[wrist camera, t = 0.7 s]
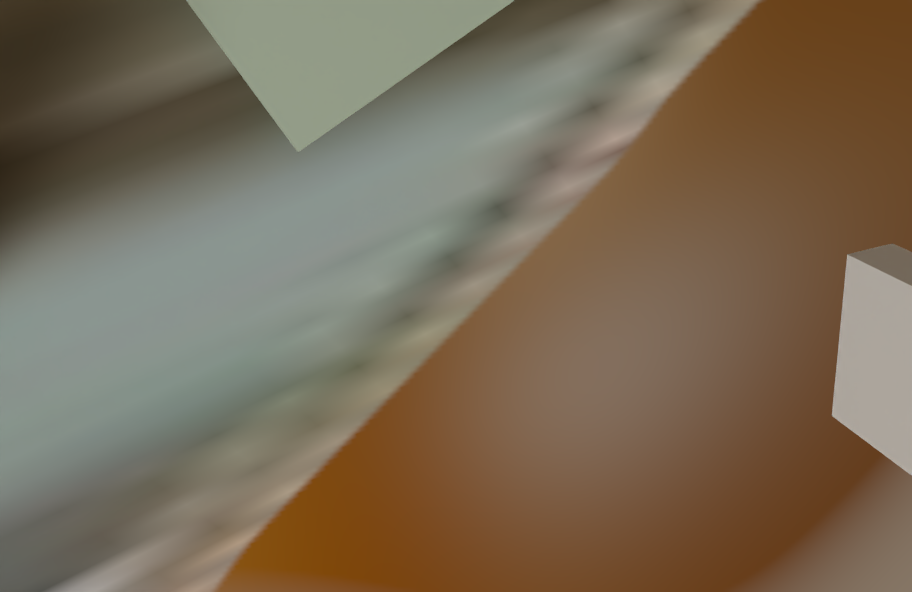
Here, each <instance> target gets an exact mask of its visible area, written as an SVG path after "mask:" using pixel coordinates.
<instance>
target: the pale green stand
mask: <svg viewBox="0 0 912 592" xmlns="http://www.w3.org/2000/svg"><path fill="white" fill-rule="evenodd" d="M186 1H187V2H188V4H189V5H190V6H191V8H192V9H193V10H194V12H195V13H196V15H197V16H198V17H199V19H200V20H201V21H202V23H203V24H204V25H205V27H206V28H207V29H208V31H209V32H210V34H211V35H212V36H213V38H214V39H215V40H216V42H217V43H218V44H219V46H220V47H221V49H222V50H223V51H224V53H225V54H226V55H227V57H228V58H229V59H230V61H231V62H232V63H233V65H234V66H235V68H236V69H237V70H238V72H239V73H240V74H241V76H242V77H243V78H244V80H245V81H246V82H247V84H248V85H249V87H250V88H251V89H252V91H253V92H254V93H255V95H256V96H257V97H258V99H259V100H260V101H261V103H262V104H263V106H264V107H265V108H266V110H267V111H268V112H269V114H270V115H271V116H272V118H273V119H274V120H275V122H276V123H277V125H278V126H279V127H280V129H281V130H282V131H283V133H284V134H285V135H286V137H287V138H288V140H289V141H290V142H291V144H292V145H293V146H294V148H295V149H296V150H297V152H299V151H301V150H302V149H304V148H305V147H306V146H308V145H309V144H311V143H312V142H313V141H315V140H316V139H318V138H319V137H321V136H322V135H323V134H325V133H326V132H328V131H329V130H331V129H332V128H333V127H335V126H336V125H338V124H339V123H340V122H342V121H343V120H345V119H346V118H348V117H349V116H350V115H352V114H353V113H355V112H356V111H358V110H359V109H360V108H362V107H363V106H365V105H366V104H368V103H369V102H370V101H372V100H373V99H375V98H376V97H377V96H379V95H380V94H382V93H383V92H385V91H386V90H387V89H389V88H390V87H392V86H393V85H395V84H396V83H397V82H399V81H400V80H402V79H403V78H405V77H406V76H407V75H409V74H410V73H412V72H413V71H414V70H416V69H417V68H419V67H420V66H422V65H423V64H424V63H426V62H427V61H429V60H430V59H432V58H433V57H434V56H436V55H437V54H439V53H440V52H442V51H443V50H444V49H446V48H447V47H449V46H450V45H451V44H453V43H454V42H456V41H457V40H459V39H460V38H461V37H463V36H464V35H466V34H467V33H469V32H470V31H471V30H473V29H474V28H476V27H477V26H479V25H480V24H481V23H483V22H484V21H486V20H487V19H488V18H490V17H491V16H493V15H494V14H496V13H497V12H498V11H500V10H501V9H503V8H504V7H506V6H507V5H508V4H510V3H511V2H513V1H514V0H186Z"/></svg>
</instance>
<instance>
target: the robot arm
mask: <svg viewBox="0 0 912 592" xmlns="http://www.w3.org/2000/svg"><path fill="white" fill-rule="evenodd" d="M832 416H833V417H834V418H836V419H837V420H838V421H840V422H841V423H842V424H844V425H845V426H847V427H848V428H849V429H850V430H852V431H853V432H854V433H856V434H857V435H858V436H860V437H861V438H862V439H864V440H865V441H866V442H868V443H869V444H870V445H872V446H873V447H874V448H876V449H877V450H878V451H880V452H881V453H883V454H884V455H885V456H886V457H888V458H889V459H891V460H892V461H893V462H894V463H896V464H897V465H898V466H900V467H901V468H902V469H904V470H905V471H906V472H908V473H909V474H911V475H912V252H910V251H908V250H906V249H903V248H901V247H899V246H896V245H894V244H889V245H885V246H880V247H876V248H872V249H868V250H864V251H860V252H856V253H852V254H848V255H847V264H846V274H845V285H844V296H843V306H842V317H841V327H840V338H839V347H838V358H837V368H836V379H835V389H834V400H833V410H832Z"/></svg>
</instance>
